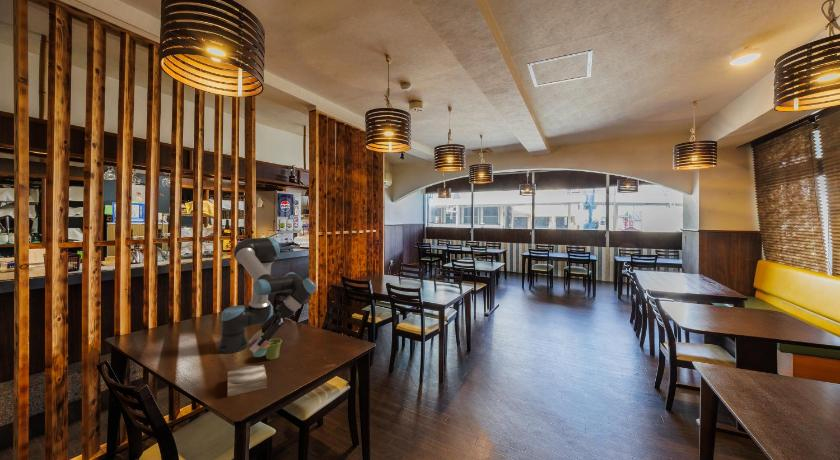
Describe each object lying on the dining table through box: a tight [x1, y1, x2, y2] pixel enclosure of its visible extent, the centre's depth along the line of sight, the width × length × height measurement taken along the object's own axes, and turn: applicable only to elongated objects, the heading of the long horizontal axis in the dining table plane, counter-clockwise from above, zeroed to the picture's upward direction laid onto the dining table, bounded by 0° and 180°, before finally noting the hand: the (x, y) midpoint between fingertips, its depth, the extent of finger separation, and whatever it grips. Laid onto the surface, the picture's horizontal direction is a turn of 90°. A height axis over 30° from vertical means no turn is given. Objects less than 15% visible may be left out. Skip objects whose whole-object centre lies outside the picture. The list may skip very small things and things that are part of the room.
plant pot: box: [265, 338, 283, 361], centre depth 171 cm, size 9×9×9 cm
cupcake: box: [248, 326, 270, 358], centre depth 144 cm, size 9×8×12 cm
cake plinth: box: [227, 364, 268, 398], centre depth 144 cm, size 15×15×5 cm
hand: (251, 347), depth 143 cm, fingers closed on cupcake, 8 cm apart
